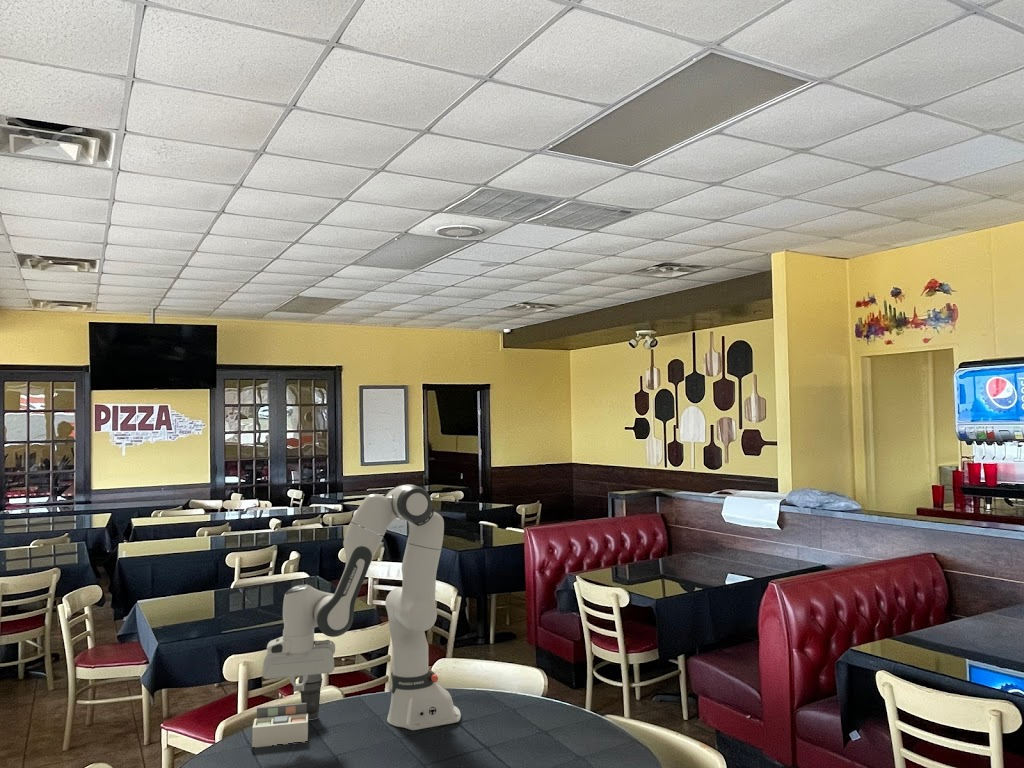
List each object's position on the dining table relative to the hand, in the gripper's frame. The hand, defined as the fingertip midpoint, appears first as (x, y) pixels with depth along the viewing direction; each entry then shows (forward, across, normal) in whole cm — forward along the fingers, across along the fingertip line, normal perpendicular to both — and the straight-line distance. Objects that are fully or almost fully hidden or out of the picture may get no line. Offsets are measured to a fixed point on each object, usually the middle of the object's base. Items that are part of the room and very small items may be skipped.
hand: (298, 690), depth 221 cm
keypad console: (+13, +5, -1) cm, 14 cm away
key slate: (+9, +5, 0) cm, 11 cm away
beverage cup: (+14, -3, -15) cm, 20 cm away
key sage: (+10, +10, 0) cm, 14 cm away
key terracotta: (+11, 0, 0) cm, 11 cm away
